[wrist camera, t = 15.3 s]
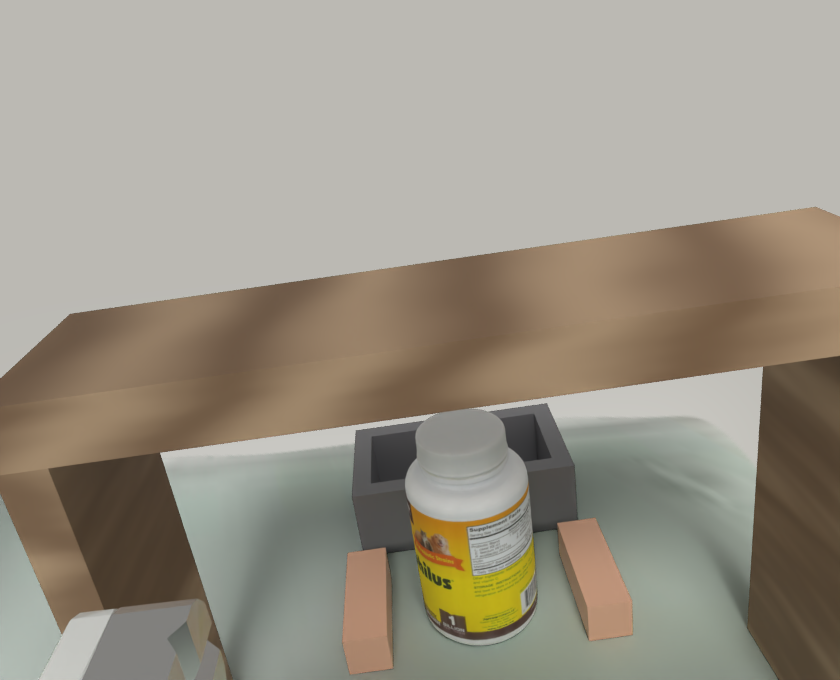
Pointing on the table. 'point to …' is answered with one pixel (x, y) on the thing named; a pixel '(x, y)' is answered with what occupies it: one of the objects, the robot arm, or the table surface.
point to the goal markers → (583, 562)
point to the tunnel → (437, 394)
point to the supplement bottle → (472, 528)
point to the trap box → (396, 450)
